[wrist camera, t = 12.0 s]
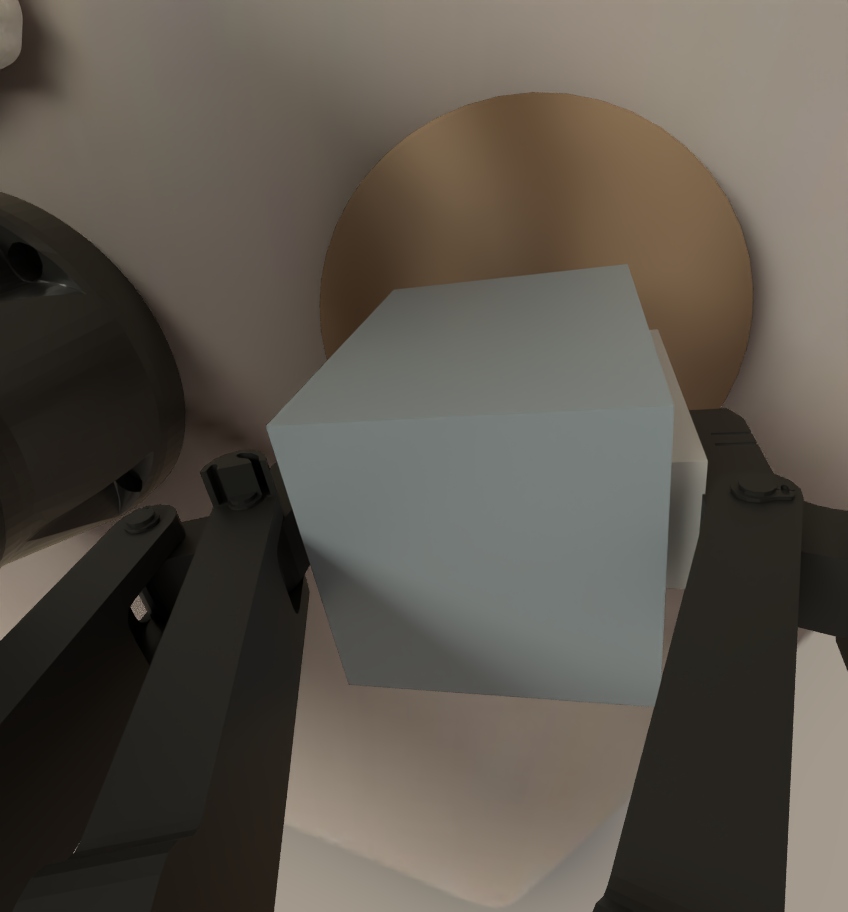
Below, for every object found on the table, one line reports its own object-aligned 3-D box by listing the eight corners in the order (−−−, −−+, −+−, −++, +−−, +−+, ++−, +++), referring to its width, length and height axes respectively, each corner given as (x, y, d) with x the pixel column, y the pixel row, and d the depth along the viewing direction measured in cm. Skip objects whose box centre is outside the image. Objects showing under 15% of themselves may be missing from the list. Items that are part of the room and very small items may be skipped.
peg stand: (374, 492, 26) (262, 722, 17) (290, 136, 20) (19, 175, 10) (722, 485, 23) (836, 771, 13) (765, 46, 16) (1066, -31, 6)
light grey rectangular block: (428, 477, 19) (348, 684, 12) (393, 289, 16) (265, 426, 9) (626, 472, 17) (659, 707, 11) (627, 263, 15) (674, 405, 8)
